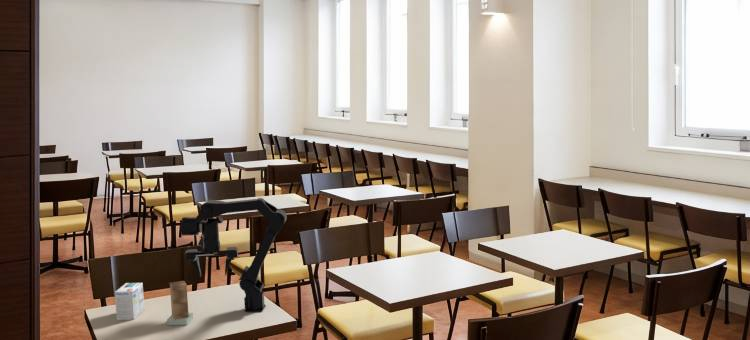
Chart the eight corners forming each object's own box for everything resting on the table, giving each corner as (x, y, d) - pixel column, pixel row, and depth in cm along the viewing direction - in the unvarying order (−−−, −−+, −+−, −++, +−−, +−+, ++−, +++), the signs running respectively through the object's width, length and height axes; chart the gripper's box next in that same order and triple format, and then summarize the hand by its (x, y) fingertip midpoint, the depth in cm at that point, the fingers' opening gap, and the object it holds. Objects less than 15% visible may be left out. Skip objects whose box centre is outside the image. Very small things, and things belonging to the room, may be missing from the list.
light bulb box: (127, 310, 259) (125, 282, 258) (145, 309, 259) (143, 282, 257) (116, 320, 248) (113, 291, 247) (134, 320, 248) (132, 291, 247)
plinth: (193, 318, 249) (193, 312, 248) (186, 325, 242) (186, 319, 241) (174, 318, 249) (173, 312, 249) (167, 325, 242) (167, 319, 242)
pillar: (186, 312, 248) (184, 280, 247) (188, 317, 244) (186, 284, 242) (171, 315, 246) (169, 282, 245) (174, 319, 242) (171, 286, 240)
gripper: (237, 228, 262) (239, 268, 264) (187, 231, 259) (189, 271, 261) (236, 235, 251) (238, 276, 253) (183, 238, 248) (186, 280, 251)
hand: (213, 276), depth 255 cm, fingers open, 9 cm apart
